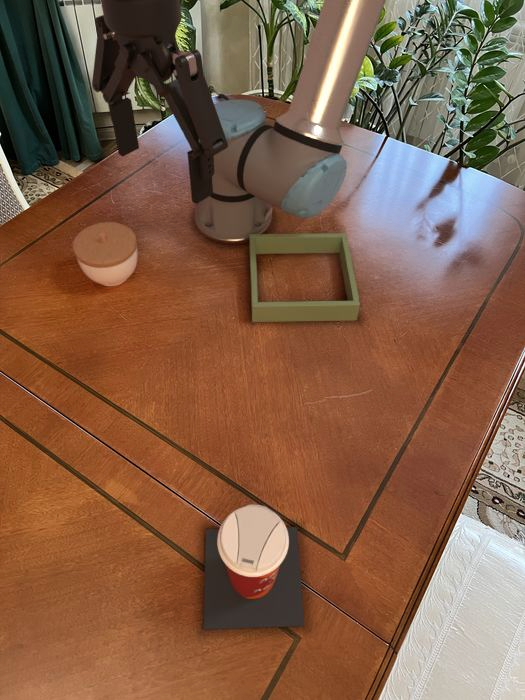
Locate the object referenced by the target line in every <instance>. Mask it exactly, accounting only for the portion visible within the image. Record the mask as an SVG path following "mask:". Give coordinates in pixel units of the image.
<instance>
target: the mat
mask: <svg viewBox="0 0 525 700" xmlns="http://www.w3.org/2000/svg"><path fill="white" fill-rule="evenodd" d="M219 529H220V528H217V529H214V528H213V529H205V541H204V542H205V543H204V546H205V547H204V582H203V584H204V585H203V589H204V590H203V622H202V624H203V626H202V627H203V628H202V629H203V631H210V630H211V631H212V630H215V631H216V630H240V629H241V630H243V629H264V628H266V629H268V628H270V629H271V628H295V627H296V628H297V627H299V628H300V627H305V614H304V601H303V588H302V575H301V562H300V560H301V559H300V550H299V535H298V526H286V529H287V531H288V536H289V546H288V551H287V554H286V556H285V558H284V560H283V561H282V563H281V564H280V567H279V570H278V573H277V576H276V579H275V582H274V584H273V586H272V588H271V589H270V591H269V592H268V593H267V594H265V595H264V596H262V597H260V598H256V599H249V598H245V597H243V596H241V595H240V594H238V593H237V592H236V591H235V589H234V588H233V586H232V584H231V581H230V578H229V575H228V571H227V568H226V564H225V563H224V561H223V560H222V558H221V556H220V554H219V550H218V545H217V538H218V532H219Z"/></svg>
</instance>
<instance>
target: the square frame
mask: <svg viewBox="0 0 525 700" xmlns="http://www.w3.org/2000/svg"><path fill="white" fill-rule="evenodd" d="M349 244H350V243H349V240H348V234H347V233H346V232H344V233H343V232H338V233H337V232H335V233H334V232H333V233H332V232H331V233H328V232H327V233H265V234H250V242H249V273H250V274H249V275H250V277H249V278H250V302H251V303H250V305H251V307H250V308H251V323H279V322H280V323H281V322H283V323H284V322H285V323H286V322H340V321H341V322H345V321H346V322H347V321H348V322H349V321H350V322H351V321H358V316H359V312H360V308H361V303H360V297H359V291H358V286H357V281H356V276H355V271H354V266H353V265H354V264H353V261H352V260H353V259H352V255H351V249H350V245H349ZM271 254H273V255H274V254H275V255H277V254H278V255H279V254H285V255H286V254H339V259H340V264H341V271H342V277H343V283H344V289H345V293H346V294H345V295H346V300H312V301H311V300H310V301H309V300H308V301H305V300H304V301H303V300H302V301H259V295H258V294H259V293H258V292H259V291H258V273H257V269H258V268H257V255H271Z"/></svg>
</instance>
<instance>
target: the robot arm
mask: <svg viewBox="0 0 525 700" xmlns="http://www.w3.org/2000/svg"><path fill="white" fill-rule="evenodd" d="M386 1H387V0H323V3H322V6H321V8H320V12H319V15H318V18H317V21H316V25H315V28H314V30H313V34H312V36H311V40H310V43H309V46H308V48H307V52H306V54H305V55H306V56H305V58H304V60H303V61H304V62H303V65H302V68H301V71H300V74H299V77H298V80H297V83H296V86H295V88H294V93H293V95H292V98H291V102H290V105H289V107H288V110H287V111H286V112H284V113H283V114H281V115H279V116H278V117H276V118H275V120H274V124H273V126H272V125H271V124H268V123H267V122H266V120H267V114H266V111H265V109H264V107H263V105H262V104H260V103H259V102H256V101H253V100H249V99H242V98H240V99H239V98H237V99H235V98H234V99H230V98H229V97H228V96H227V95H225V94H224V93H219V94H217V98H218V99H223V100H222V101H219V102H214V101H213V97H212V95H211V91H210V89H209V85H208V83H207V80H206V77H205V74H204V65H203V57H202V54H201V52H200V51H199V49H196V48H195V49H192V50H190V51H188V52H187V51H185V50H181V49H180V47H179V44H178V41H177V35H176V33H177V31H178V28H179V27H180V24H181V22H182V19H183V18H182V15H183V14H182V3H181V0H100V4H101V10H102V15H99V16H97V17H94V25H95V32H96V42H95V43H96V46H95V53H94V62H93V71H92V80H91V86H92V89H93V90H94V91H95V92H96V93H99V92H100V93H101V94H102V98H103V100H104V102H105V103H106V104H107V106H108V111H109V115H110V121H111V123H112V128H113V132H114V133H113V134H114V138H115V141H116V143H115V144H116V148H117V152H118V155H119V156H121V157H122V158H123V157H125V156H127V155H129V154H131V153H133V152H135V151H136V150H139V149H140V146H139V145H140V144H139V138H138V133H137V126H136V121H135V114H134V109H133V103H132V99H131V98H129V97H125V96H127V95H129V94H131V92H129V90H130V87H131V86H132V85H133V84H132V83H133V82H134V81H135V79H136V77H137V78H139V79H142V80H145V81H146V82H147V83H148V84H150V85H151V86H153V88H154V90H155V92H156V94H157V95H158V96H160V97H162V98H164V100H165V101H166V104H167V105H168V107H169V109H170V110H171V113H172V115H173V117H174V119H175V120H176V123H177V124H178V126H179V128H180V130H181V132H182V134H183V135H184V137H185V139H186V141H187V143H188V145H189V147H190V149H191V150H188V151H187V152H186V153H187V162H188V164H187V165H188V173H189V185H190V194H191V195H190V196H191V202H192V203H194V204H195V208H194V224H195V227H196V230H198V232H199V233H200V234H201V235H202V236H203V237H204V238H206V239H208V240H210V241H212V242H215V243H218V244H222V245H228V246H229V245H230V246H233V245H235V246H236V245H245V244H250V234H267V233H268V231H269V229H270V228H271V226H272V222H273V221H272V219H273V206H274V207H276V208H278V209H280V210H281V211H282V212H283V213H284V214H290V215H292V216H295V217H296V218H299V219H302V220H307V219H308V220H309V219H311V218H314V217H316V216H318V215H320V213H322V212H324V210H325V209H326V208H327V207H329V205H330V204H331V203H332V202H333V200H334V198H336V196H337V195H338V193H339V191H340V189H341V187H342V185H343V183H344V181H345V178H346V176H347V171H346V170H347V169H348V165H347V163H348V162H347V160H346V159H345V158H344V156H342V155H341V154H340V153H341V150H342V148H343V145H344V140H343V137H342V135H341V133H340V127H341V123H342V121H343V118H344V116H345V112H346V110H347V107H348V105H349V102H350V100H351V96H352V94H353V92H354V89H355V86H356V84H357V80H358V77H359V75H360V72H361V69H362V67H363V64H364V61H365V58H366V56H367V54H368V51H369V48H370V45H371V43H372V40H373V37H374V34H375V31H376V28H377V26H378V23H379V21H380V18H381V15H382V13H383V9H384V7H385V5H386ZM172 76H174V78H175V79H173V80H172V81H170V82H167V81H169V80H170V79H171V77H172ZM165 82H167V83H165Z"/></svg>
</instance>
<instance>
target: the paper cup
mask: <svg viewBox="0 0 525 700" xmlns="http://www.w3.org/2000/svg"><path fill="white" fill-rule="evenodd" d="M286 527H287V526H286V524H285V522H284V521H283V519H282V518H281V516H279V515H278V514H277V513H276V512H274V511H273V510H271V508H268V507H267V506H265V505H262V504H247V505H245V506H242V507H239V508H237V509H235V510H234V511H232V512H230V514H228V515H227V516H226V517H225V519H224V520H223V521H222V523H221V524H220V526H219V528H218V529H219V532H218V538H217V545H218V550H219V554H220V556H221V558H222V560H223V561H224V563H225V564H226V568H227V571H228V575H229V578H230V581H231V584H232V586H233V588H234V589H235V591H236V592H237V593H238V594H240V595H241V596H243V597H245V598H249V599H256V598H260V597H262V596H264V595H265V594H267V593H268V592H269V591H270V589H271V588H272V586H273V584H274V582H275V579H276V576H277V573H278V570H279V567H280V564H281V563H282V561H283V560H284V558H285V556H286V554H287V551H288V546H289V536H288V531H287V529H286Z"/></svg>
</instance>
